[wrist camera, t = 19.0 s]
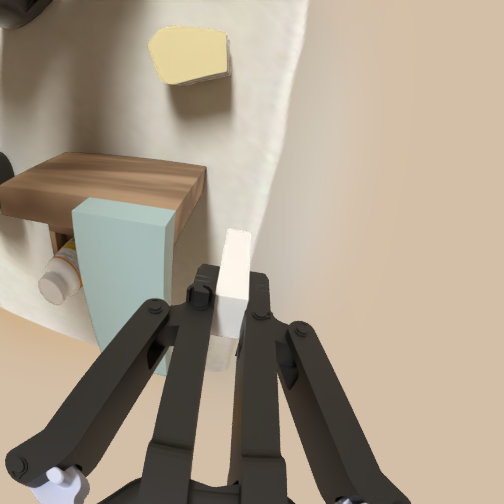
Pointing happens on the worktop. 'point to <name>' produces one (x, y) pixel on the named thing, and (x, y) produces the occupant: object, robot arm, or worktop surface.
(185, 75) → the pale yellow layered block
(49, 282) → the supplement bottle
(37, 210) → the wall
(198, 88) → the worktop surface
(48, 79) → the worktop surface
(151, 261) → the plank
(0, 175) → the mug
